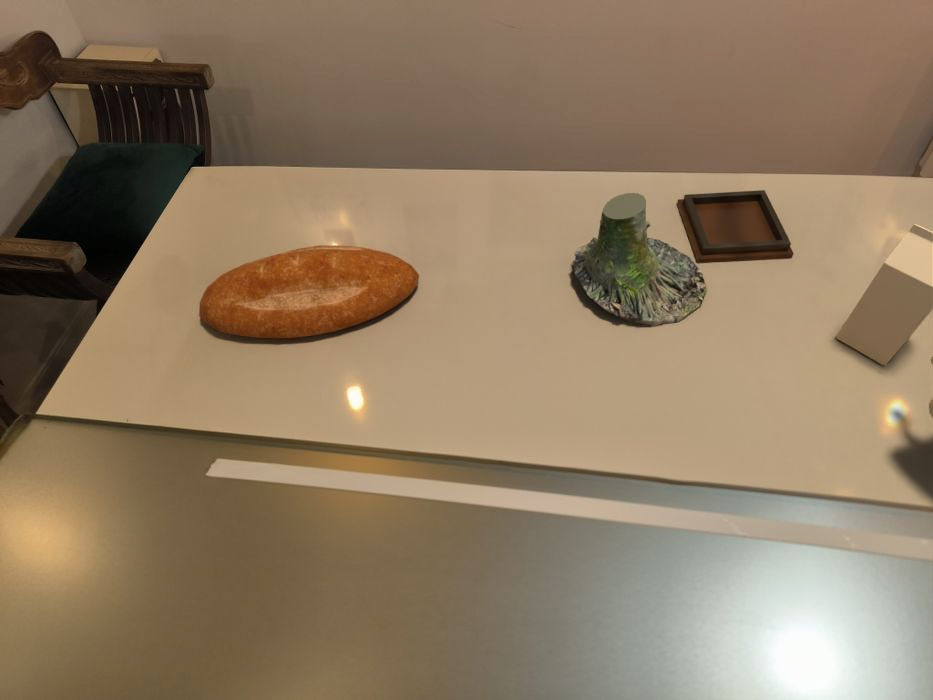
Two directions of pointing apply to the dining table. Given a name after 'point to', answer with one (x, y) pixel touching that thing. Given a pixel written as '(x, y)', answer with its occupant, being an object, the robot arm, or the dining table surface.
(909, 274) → the milk carton
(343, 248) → the bread
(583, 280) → the tree stump
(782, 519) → the dining table surface
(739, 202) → the tray
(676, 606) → the dining table surface
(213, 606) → the dining table surface
